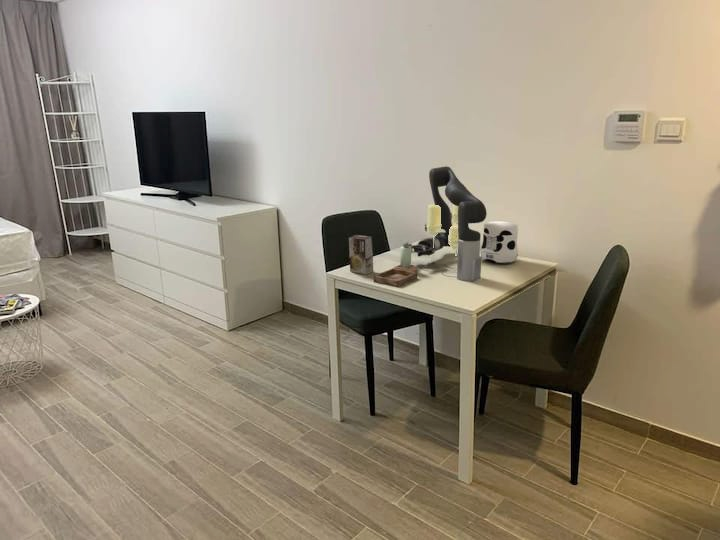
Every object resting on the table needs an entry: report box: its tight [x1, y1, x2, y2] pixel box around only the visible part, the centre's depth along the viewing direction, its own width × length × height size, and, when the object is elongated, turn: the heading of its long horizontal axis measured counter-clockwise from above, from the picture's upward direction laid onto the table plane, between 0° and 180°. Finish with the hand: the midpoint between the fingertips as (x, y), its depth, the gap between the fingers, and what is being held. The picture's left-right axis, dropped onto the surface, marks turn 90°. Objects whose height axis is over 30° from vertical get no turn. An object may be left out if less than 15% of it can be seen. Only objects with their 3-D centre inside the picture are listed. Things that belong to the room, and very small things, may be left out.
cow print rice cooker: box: [480, 220, 519, 265], centre depth 255 cm, size 17×17×18 cm
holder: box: [393, 264, 418, 272], centre depth 245 cm, size 7×7×2 cm
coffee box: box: [348, 234, 374, 275], centre depth 244 cm, size 9×6×16 cm
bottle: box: [399, 241, 412, 269], centre depth 244 cm, size 5×5×13 cm
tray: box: [373, 267, 418, 288], centre depth 232 cm, size 13×15×2 cm
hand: (410, 252), depth 246 cm, fingers open, 8 cm apart
